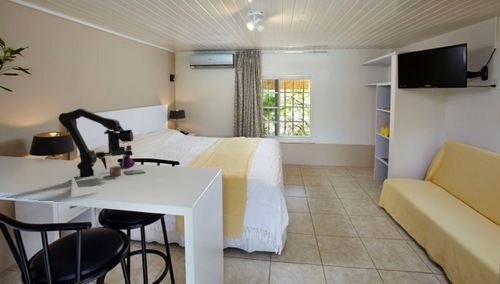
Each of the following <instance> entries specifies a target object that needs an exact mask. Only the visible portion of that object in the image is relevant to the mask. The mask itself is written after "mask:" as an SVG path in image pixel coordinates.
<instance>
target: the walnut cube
mask: <svg viewBox="0 0 500 284" xmlns="http://www.w3.org/2000/svg"><path fill="white" fill-rule="evenodd" d="M121 168H122V167H121V166H120V165H116V166H109V176H110V177H111V178H112V177H121V176H122V171H121Z"/></svg>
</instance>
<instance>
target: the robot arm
mask: <svg viewBox="0 0 500 284" xmlns="http://www.w3.org/2000/svg"><path fill="white" fill-rule="evenodd" d="M81 117H82V118H85V119H87V120H90V121H92V122H95V123H98V124H100V125H102V126H103V127H104V128H105V129H106V131H104V132H103V134H104V135H107V138H108V140H107V141H108V143H107V144H108V146H107V147H108V152H105V151H96V152H95V150H90V149H89V147H88V145H87V144H86V142H85V140H84V138H83V136H82V134H81V133H80V130H79V128H78V125H77V124H78V123H77V119H78V120H79V119H80V118H81ZM58 121H59V122H60V124H61V125H62V126H63V127H64V128H65V129H66V130H67V131H68V133H69V134H70V136H71V138H72V140H73V142H74V144H75V146H76V148H77V149H78V152H79V158H80V162H79V163H78V164H77V166H76V167H77V169H78V170H79V178H89V177H94V176H95V170H94V169H93V167H94V166H95V164H96V163H97V160H98V159H99V160H101V162H102V164H103V167H104V168H105V170H107V168H108V167H107V161H106V156H107V157H110V156H113V157H116V156H122V160H123V167H122V168H123V169H124V166H125V163H126V160H127V158H128V157H130V158H131V156H133V151H132V149H131V150H126V147H125V146H120V141H121V142H122V143H123V142H124V143H127V142H132V143H133V141H134V133H133V130H132V129H124V128H123V127H122V126H121V123H120V121H119V120H118V119H113V118H110V117H104V116H101V115H99V114H96V113H93V112H91V111H89V110H86V109H85V108H78V109H77V108H76V109H75V110H73V111H69V112H62V113H59V115H58Z"/></svg>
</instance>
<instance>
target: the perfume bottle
mask: <svg viewBox="0 0 500 284" xmlns="http://www.w3.org/2000/svg"><path fill="white" fill-rule="evenodd" d="M126 143H127V144H128V145H126V147H125V150H131V151H132V150H133V148H132V145H130V143H129V142H126ZM122 144H123V145H124V144H125V142H122ZM135 164H136V162H135V161H134V160H133V158H131V156H130V157H128V158H127V160H126V163H125V166H124V168H127V169H129V168H131V167H134V165H135ZM118 166H119V167H121V168H123V159H122V160H121V161H120V162H119V163H118ZM124 168H123V169H124Z"/></svg>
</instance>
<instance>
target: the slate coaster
mask: <svg viewBox="0 0 500 284" xmlns="http://www.w3.org/2000/svg"><path fill="white" fill-rule="evenodd" d="M123 173H124V174H125V175H127V176H131V175H132V176H133V175H141V174H146V171H145V170H143V169H131V170H124V171H123Z"/></svg>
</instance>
